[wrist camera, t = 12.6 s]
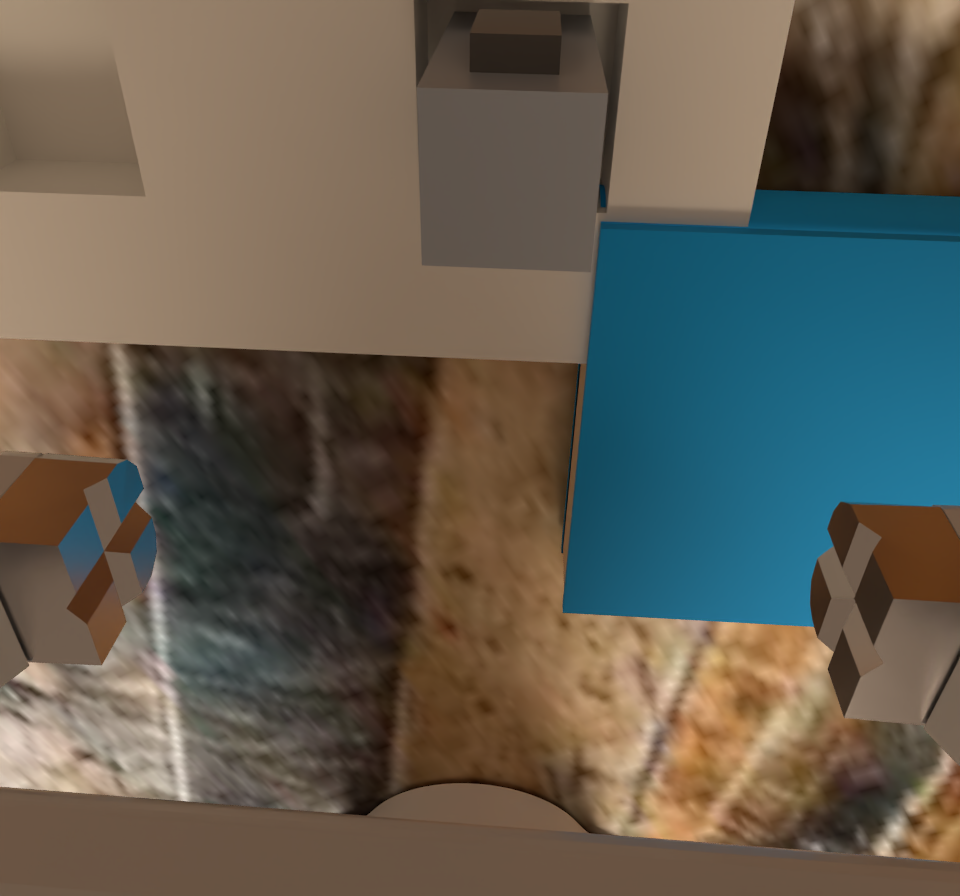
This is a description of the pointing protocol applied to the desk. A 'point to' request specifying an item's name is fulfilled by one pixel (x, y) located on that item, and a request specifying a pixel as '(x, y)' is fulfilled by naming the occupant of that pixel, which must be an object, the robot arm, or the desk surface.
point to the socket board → (328, 169)
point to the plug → (511, 142)
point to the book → (758, 399)
